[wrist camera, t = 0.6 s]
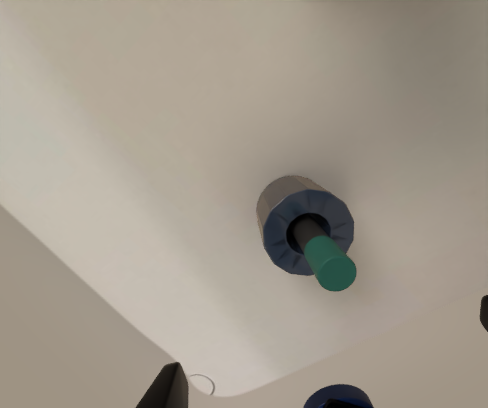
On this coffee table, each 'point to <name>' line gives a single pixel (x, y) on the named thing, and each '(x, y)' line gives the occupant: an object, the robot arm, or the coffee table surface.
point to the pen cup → (292, 205)
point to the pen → (323, 254)
